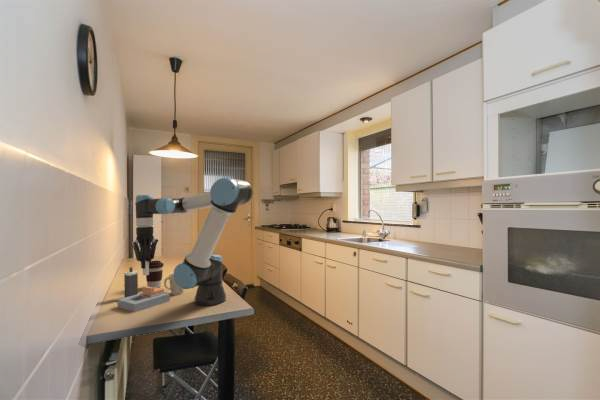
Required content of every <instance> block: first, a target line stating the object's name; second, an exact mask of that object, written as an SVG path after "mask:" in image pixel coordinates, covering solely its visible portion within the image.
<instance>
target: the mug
mask: <svg viewBox="0 0 600 400" xmlns="http://www.w3.org/2000/svg"><path fill="white" fill-rule="evenodd" d="M168 281H169V286H168V285H167V282H168ZM163 286H164V287H165V288H166V289H167V290H170V295H174V296H175V295H177V296H178V295H181V294H184V291H185V289H183V288H181V287H179V286H178V285H177V283H176V282H175V279H174V273H171V274H169V275H168V277H166V278H165V279H164V281H163Z"/></svg>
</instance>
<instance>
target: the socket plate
mask: <svg viewBox="0 0 600 400" xmlns="http://www.w3.org/2000/svg"><path fill="white" fill-rule="evenodd" d="M170 299H171V293H167V291H164V292H162V293H159V294H155V295H152V296H148V295H143V292H140V293H138V294H136V295H133V296H129V297H125V296H124V297H122V298H118V299H117V301H116V302H117V308H120V309H124V310H127V311H129V312H134V313H136V312H139V311H143V310H146V309H150V308H152V307H155V306H158V305H162V304H164V303H167V302H170Z"/></svg>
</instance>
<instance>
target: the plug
mask: <svg viewBox="0 0 600 400" xmlns="http://www.w3.org/2000/svg"><path fill="white" fill-rule="evenodd" d="M138 274H139V272H138V271H135V270H133V266H132V267H129V271H125V272H124V273H123V275H124V280H123V281H124V298H125V297H129V296H133V295H136V294H139V291H138V290H139V287H138V286H139V285H138V283H139V282H138V281H139V280H138V279H139V278H138V277H139V276H138Z"/></svg>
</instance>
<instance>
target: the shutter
mask: <svg viewBox="0 0 600 400" xmlns="http://www.w3.org/2000/svg"><path fill="white" fill-rule="evenodd" d="M162 292H165V288H161V287H159V288H156V287H155V288H153V287H148V286H147V285H145V286H142V293H143V295H148V296H152V295H155V294H159V293H162Z"/></svg>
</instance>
